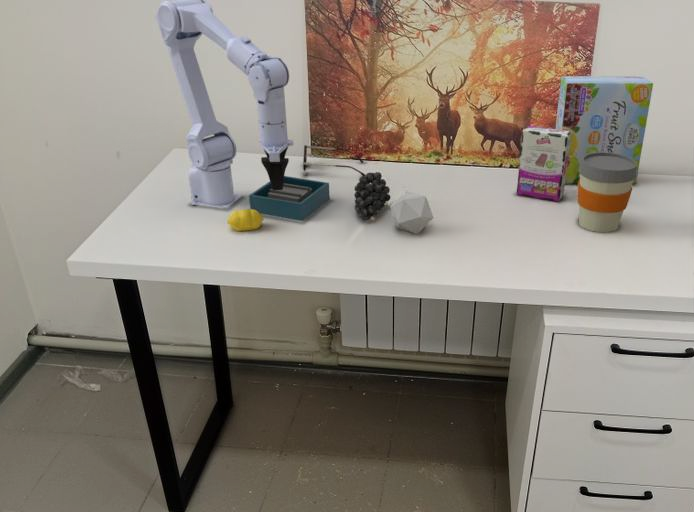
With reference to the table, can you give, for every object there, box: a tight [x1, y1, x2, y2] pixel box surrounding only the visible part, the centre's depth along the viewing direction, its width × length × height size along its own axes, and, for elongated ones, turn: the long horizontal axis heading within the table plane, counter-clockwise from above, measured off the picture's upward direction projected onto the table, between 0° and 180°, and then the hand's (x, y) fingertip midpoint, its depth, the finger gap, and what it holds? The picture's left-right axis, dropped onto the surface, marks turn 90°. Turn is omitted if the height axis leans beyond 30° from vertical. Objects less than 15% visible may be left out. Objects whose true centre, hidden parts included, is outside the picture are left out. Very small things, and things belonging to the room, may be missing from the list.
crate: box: [248, 175, 331, 222], centre depth 172 cm, size 13×14×5 cm
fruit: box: [354, 171, 391, 221], centre depth 169 cm, size 9×8×15 cm
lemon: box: [227, 208, 264, 232], centre depth 161 cm, size 8×5×5 cm, turn 106°
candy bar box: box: [516, 125, 572, 202], centre depth 179 cm, size 11×5×16 cm, turn 68°
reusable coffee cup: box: [577, 152, 637, 233], centre depth 165 cm, size 13×12×15 cm
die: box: [389, 190, 434, 235], centre depth 162 cm, size 8×9×10 cm
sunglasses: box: [302, 144, 366, 177], centre depth 194 cm, size 14×16×5 cm
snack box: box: [555, 75, 654, 185], centre depth 187 cm, size 22×9×26 cm, turn 92°
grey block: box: [268, 183, 312, 203], centre depth 172 cm, size 8×7×4 cm
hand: (277, 183), depth 160 cm, fingers open, 7 cm apart
